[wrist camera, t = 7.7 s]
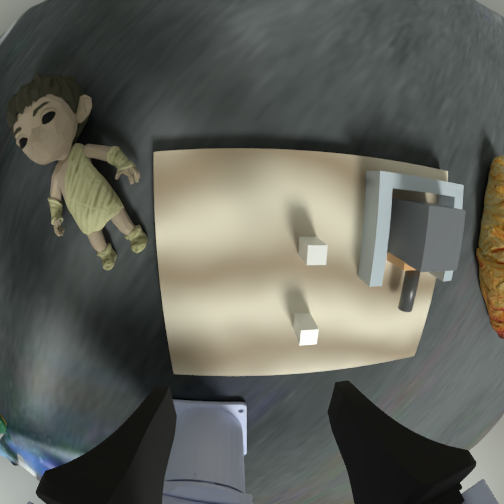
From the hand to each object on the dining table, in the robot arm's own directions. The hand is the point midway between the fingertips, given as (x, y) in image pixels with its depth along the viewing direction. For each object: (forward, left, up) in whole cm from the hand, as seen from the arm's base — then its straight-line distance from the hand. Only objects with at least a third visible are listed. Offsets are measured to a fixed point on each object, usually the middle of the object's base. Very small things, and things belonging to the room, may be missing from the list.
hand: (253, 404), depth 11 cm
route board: (+3, -5, -10) cm, 11 cm away
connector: (+4, -12, -9) cm, 15 cm away
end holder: (+6, -12, -9) cm, 16 cm away
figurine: (+11, +12, -10) cm, 19 cm away
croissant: (+4, -27, -10) cm, 29 cm away
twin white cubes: (+2, -4, -9) cm, 10 cm away
